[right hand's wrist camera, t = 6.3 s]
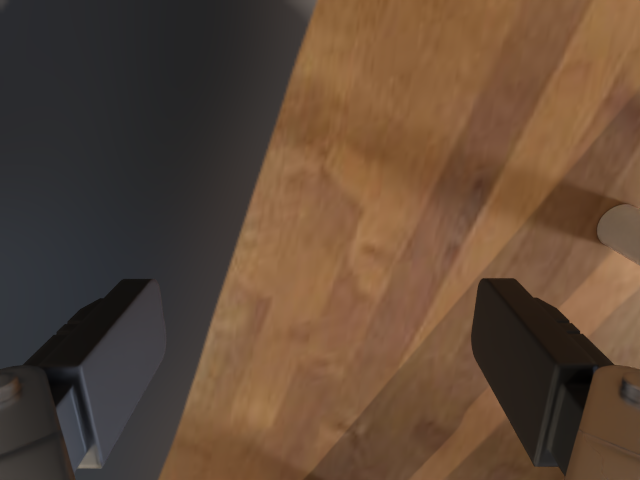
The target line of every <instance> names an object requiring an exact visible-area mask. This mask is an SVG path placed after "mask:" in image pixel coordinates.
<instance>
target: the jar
mask: <svg viewBox="0 0 640 480" xmlns="http://www.w3.org/2000/svg"><path fill="white" fill-rule="evenodd" d="M597 235H598V238H599V240H600V241H601V242H602V243H603V244H604V245H606V246H607V247H609V248H611V249H612V250H614V251H616V252H617V253H619V254H621V255H622V256H624V257H626V258H628V259H629V260H631V261H633V262H634V263H636V264H638V265H639V266H640V208H638V207H635V206H633V205H628V204H624V205H619V206H616V207H613V208H611V209H610V210H608V211H607V212H606V213H605V214H604V215H603V216H602V218H601V219H600V221H599V223H598V226H597Z"/></svg>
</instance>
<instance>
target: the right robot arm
mask: <svg viewBox="0 0 640 480" xmlns="http://www.w3.org/2000/svg"><path fill="white" fill-rule="evenodd" d="M471 344H472V350H473V354H474V357H475V359H476V361H477V363H478V365H479V367H480V369H481V370H482V372H483V374H484V376H485V378H486V379H487V381H488V383H489V385H490V387H491V388H492V390H493V392H494V394H495V396H496V398H497V399H498V401H499V403H500V405H501V407H502V408H503V410H504V412H505V414H506V416H507V418H508V419H509V421H510V423H511V425H512V427H513V428H514V430H515V432H516V434H517V436H518V437H519V439H520V441H521V443H522V445H523V447H524V448H525V450H526V452H527V454H528V456H529V457H530V459H531V461H532V463H533V465H534V466H535V467H559V468H560V469H561V471H562V472H563V474H564V476H565V480H640V369H637V368H633V367H628V366H620V365H614V364H613V363H612V362H611V361H610V360H609V359H608V358H607V357H606V356H605V355H604V354H603V353H602V352H601V351H600V350H599V349H598V348H597V347H596V346H595V345H594V344H593V343H592V342H591V341H590V340H589V339H587V338H586V337H585V336H584V335H583V334H580V331H579V330H578V329H577V328H576V327H575V326H574V325H573V324H572V323H569V320H568V319H567V318H566V317H565V316H564V315H563V314H562V313H561V312H560V311H559V310H558V309H557V308H555V307H553V306H551V305H550V304H548V303H546V302H544V301H542V300H540V299H539V298H533V297H532V296H531V295H530V294H529V293H528V292H527V291H526V290H525V288H524V287H523V286H522V285H521V284H520V283H519V282H518V281H517V280H516V279H514V278H483V279H482V280H481V281H480V283H479V285H478V290H477V297H476V304H475V311H474V319H473V326H472V333H471ZM165 349H166V329H165V322H164V315H163V308H162V301H161V294H160V288H159V284H158V282H157V281H156V280H155V279H123V280H121V281H120V282H119V283H118V284H117V285H116V286H115V287H114V288H113V289H112V290H111V291H110V292H109V293H108V294H107V296H106V297H105V298H100V299H98V300H96V301H94V302H93V303H91V304H89V305H87V306H85V307H83V308H82V309H80V310H79V311H78V312H77V313H76V314H75V315H74V316H73V317H72V318H71V319H70V320H69V321H68V323H67V324H65V325H64V326H63V327H61V328H60V329H59V330H58V331H57V334H56V335H53V336H52V337H51V338H50V339H49V340H48V341H47V342H46V343H45V344H44V345H43V346H42V347H41V348H40V349H39V350H38V351H37V352H36V353H35V354H34V355H33V356H31V357H30V358H29V359H28V360H27V361H26V362H25V363H24V364H23V365H20V366H12V367H7V368H3V369H0V480H75V476H74V473H75V471H76V470H77V468H102V467H103V465H104V463H105V462H106V460H107V458H108V456H109V455H110V453H111V451H112V449H113V447H114V446H115V444H116V442H117V440H118V438H119V437H120V435H121V433H122V431H123V429H124V428H125V426H126V424H127V422H128V421H129V419H130V417H131V415H132V413H133V412H134V410H135V408H136V406H137V404H138V403H139V401H140V399H141V397H142V395H143V394H144V392H145V390H146V388H147V386H148V385H149V383H150V381H151V379H152V378H153V376H154V374H155V372H156V370H157V369H158V367H159V365H160V363H161V361H162V359H163V357H164V354H165Z"/></svg>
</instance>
